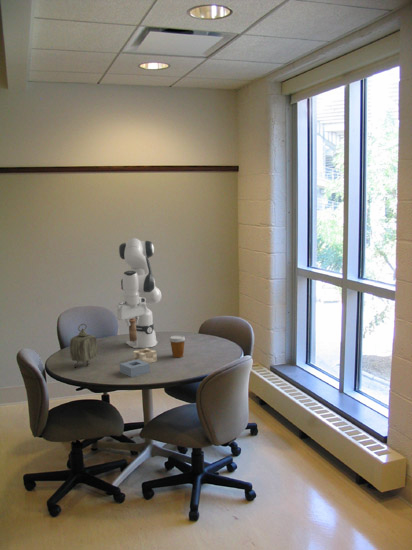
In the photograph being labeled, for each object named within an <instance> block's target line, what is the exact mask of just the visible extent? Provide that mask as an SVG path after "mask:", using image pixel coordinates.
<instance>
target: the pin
mask: <svg viewBox="0 0 412 550" xmlns="http://www.w3.org/2000/svg"><path fill="white" fill-rule="evenodd" d="M129 322H130V323H131V326H128V333H129V335H128V336H129V337H130V341H137V332H136V319H135V317H133V318H129Z"/></svg>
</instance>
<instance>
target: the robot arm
mask: <svg viewBox="0 0 412 550" xmlns="http://www.w3.org/2000/svg"><path fill="white" fill-rule="evenodd" d="M118 246H119V247H118V255H119V258H121V259H122V260H124V261H125V264H127V265H128V266H129V267H131V269H130V270H126V271H124V272H123V273H122V279H120V285H121V290H122V291H123V293H122V300H123V301H122V302H119V303H118V305H117V309H116V320H118V321H125V323H126V326H127V327H129V326H131V323H130V322H129V319H133V318H134V319H136V332H137V341H130V337H129V339H128V340H126V342H125V344H126V345H128V346H129V347H131V348H134V349H140V348H141V349H145V348H152V347H155V346H157V344H158V340H157V337H156V331H155V330H154V328H155V325H154V323H153V322H154V319H153V311H152V310H151V309H149V308H148V307H147V305H153V304H154V305H155V304H159V303H160V301H161V300H162V292H161V290H160V288H158V287H157V286H156V281H155V278H154V275H153V272H152V268H151V263H150V261H149V259H150V258H151V257H153V256H154V252H155V246H154V244H153V242H152V241H150V240H140V239H139V238H137V237H133V238H132V237H131V238H130V239H128V240H127V242H123V243H121V244H119V245H118Z"/></svg>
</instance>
